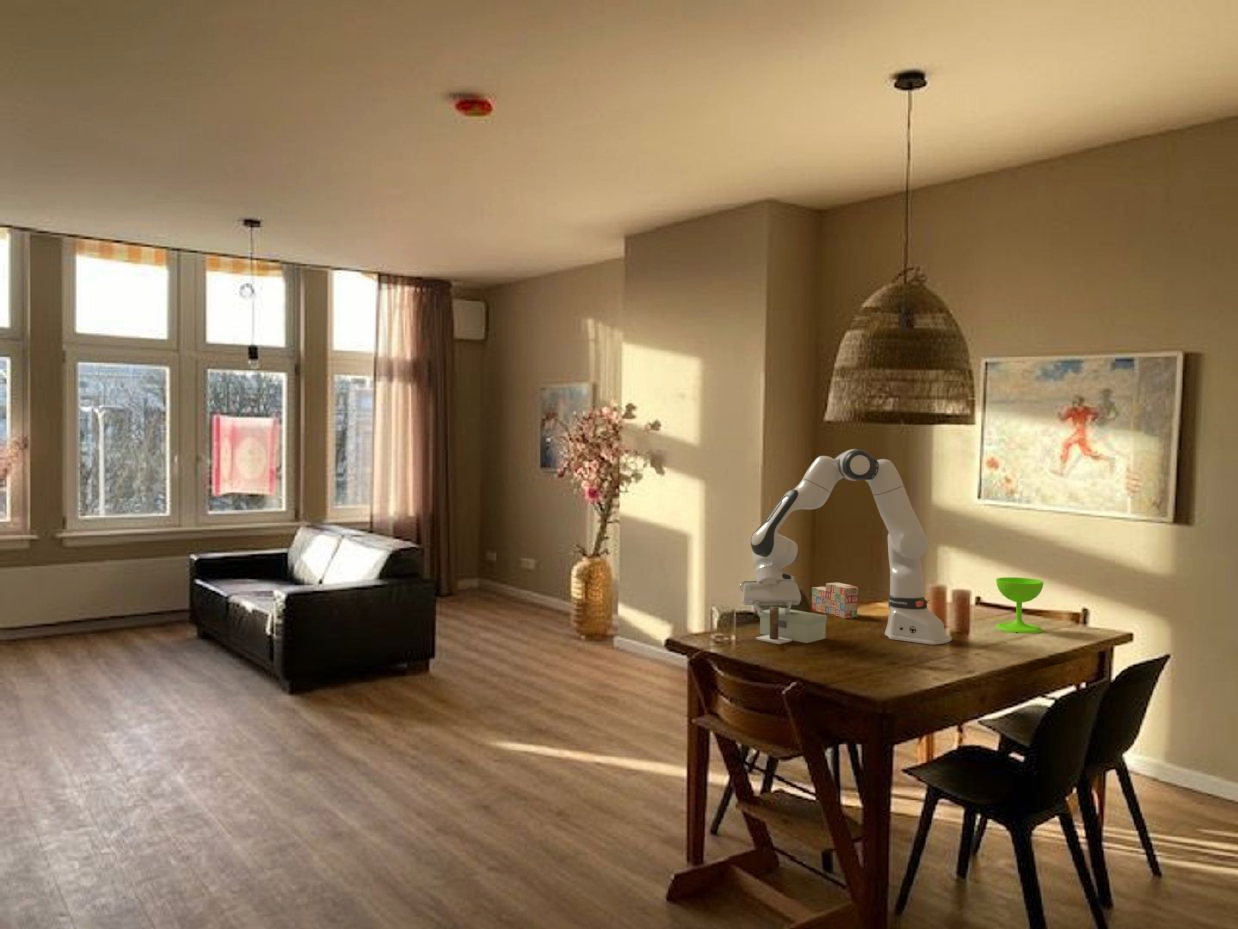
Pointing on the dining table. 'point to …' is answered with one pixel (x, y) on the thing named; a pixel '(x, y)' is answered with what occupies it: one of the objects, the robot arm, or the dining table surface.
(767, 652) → the dining table surface
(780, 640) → the felt mat
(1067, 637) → the dining table surface
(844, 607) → the stack of blocks
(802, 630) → the pale green lidded box
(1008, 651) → the dining table surface
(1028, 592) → the wineglass
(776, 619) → the walnut key
